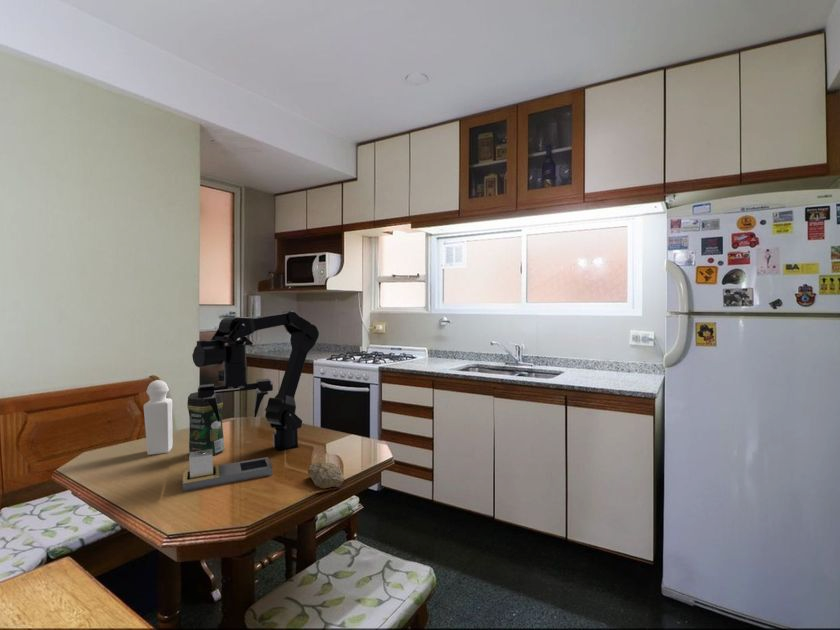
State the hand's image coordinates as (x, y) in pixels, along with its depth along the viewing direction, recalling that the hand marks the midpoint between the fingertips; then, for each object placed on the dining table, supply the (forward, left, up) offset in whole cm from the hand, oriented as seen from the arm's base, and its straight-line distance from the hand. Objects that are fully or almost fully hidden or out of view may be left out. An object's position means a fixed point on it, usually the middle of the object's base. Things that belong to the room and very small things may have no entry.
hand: (237, 419), depth 120 cm
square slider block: (+9, +10, -12) cm, 18 cm away
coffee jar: (+8, -16, -13) cm, 22 cm away
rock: (-18, +25, -13) cm, 34 cm away
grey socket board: (+3, +10, -12) cm, 16 cm away
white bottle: (+21, -26, -13) cm, 36 cm away
